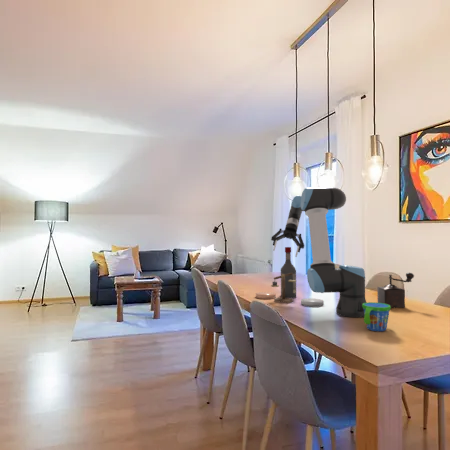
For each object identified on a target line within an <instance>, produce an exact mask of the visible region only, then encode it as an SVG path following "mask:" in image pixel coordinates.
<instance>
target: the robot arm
mask: <svg viewBox="0 0 450 450" xmlns="http://www.w3.org/2000/svg"><path fill="white" fill-rule="evenodd" d="M346 202H347V195H346V194H345V192H344V191H342V190H341V189H339V188H337V187H334V186H333V187H331V186H330V187H314V186H312V187H305V188H304V189H303V191H302V194H301V195H296V196H295V195H294V197H293V198H292V201H291V206H290V209H289V211H288V212H289V213H288V216H287V220H286V223H285V227H284V229H282V228H279V230H277V232H276V233H275V234H273V235H272V236H271V237H270V238H271V239H270V240H271V241H272V242H273V243H272V246H273V250H272V252H273V251H274V252H275V249H276V246H277V244H278V243H277V242H278V241H281V240H283V239H285V238H286V239H289V240H292V241H293V242H294V243H295V244H296V246H297V247H296V248H297V249H296V253H295V258H297V257H298V254H299V253H300V252H301V249H302V250H303V249H305V243H304V240H303V237H302V233H299V234H298V233H297V232H298V230H299V229H298V227H299V224H300V219H301V216H302V213H303V212H304V214H305V216H307V217H308V224H309V235H310V245H311V246H310V247H311V256H312V263H311V264H310V266H309V267H310V268H308V269H307V272H306V274H307V275H306V279H307V283H308V286H309V289H310V290H311V291H312V292H314V293H317V294H318V293H319V294H320V293H321V294H324V293H339V299H338V301H337V304H336V308H335V313H336V314H337V315H339V316H343V317H347V318H364V316H365V314H364V309H363V307H362V304H363V303H368V302H367V299H366V273H365V270H364V268H362V267H360V266H353V265H348V264H339V266H338V267H336V264H335V262H333V261H332V258H331V250H330V240H329V231H328V224H327V222H328V221H327V214H328V213H329V211H331V210H338V209H341V208H342V207H344V206H345V204H346Z"/></svg>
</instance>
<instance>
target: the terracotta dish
mask: <svg viewBox="0 0 450 450" xmlns="http://www.w3.org/2000/svg"><path fill="white" fill-rule="evenodd" d="M276 296H277V295H276V293H275V292H271V291H270V292H269V291H260V292H256V293H255V298H256V299H260V300H272V299H273V300H274V299H275V298H277V297H276Z"/></svg>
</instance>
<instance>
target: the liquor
mask: <svg viewBox="0 0 450 450" xmlns="http://www.w3.org/2000/svg"><path fill="white" fill-rule="evenodd" d="M284 253H285V263H283V265H282V266H281V268H280V276H282V274H289V273H293V280H296V282H288V280H292V275H289V276H286V277H285V298H290V299H295V298H296V297H297V268H296V267H295V266H294V264H292V261H291V257H292V256H291V253H292V246H286V247H284ZM280 297H281V298H282V278H280Z"/></svg>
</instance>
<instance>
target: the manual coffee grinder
mask: <svg viewBox="0 0 450 450" xmlns="http://www.w3.org/2000/svg"><path fill="white" fill-rule="evenodd" d="M405 276H406V279H405V280H403V279H399V278H393V275H392V274H389V277H388V279H389V284H386V285H384V286H377V291H376V292H377V295H376V296H377V303H384V304H388V305H390V306H391V308H393V309H398V308H406V303H405V302H406V298H405V296H406V295H405V291H406V290H405V289H404V288H400V287H399V286H397V285H395V284H393V283H392V281H398V282H401V283H402V282H403V283H411V282H412V281H413V280H412V279H414V277H415V274H414V273H412V272H407V273H405Z"/></svg>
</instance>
